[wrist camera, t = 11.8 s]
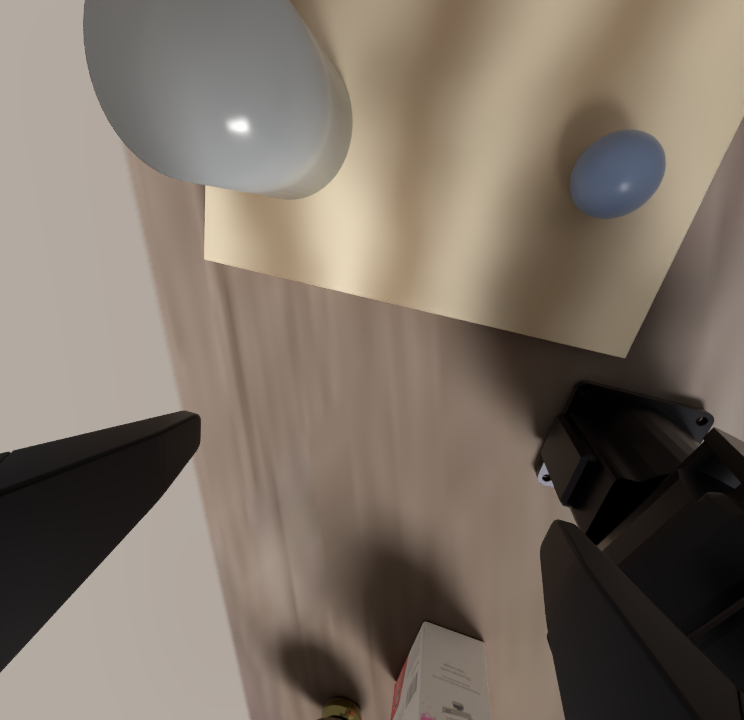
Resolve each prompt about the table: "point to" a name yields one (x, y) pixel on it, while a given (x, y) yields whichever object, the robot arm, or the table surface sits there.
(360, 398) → the table surface
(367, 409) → the table surface
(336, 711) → the cup
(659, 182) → the blue ellipsoid
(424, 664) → the ink cartridge box
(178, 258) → the table surface
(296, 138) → the grey rounded piece
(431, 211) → the birch board
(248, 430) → the table surface
